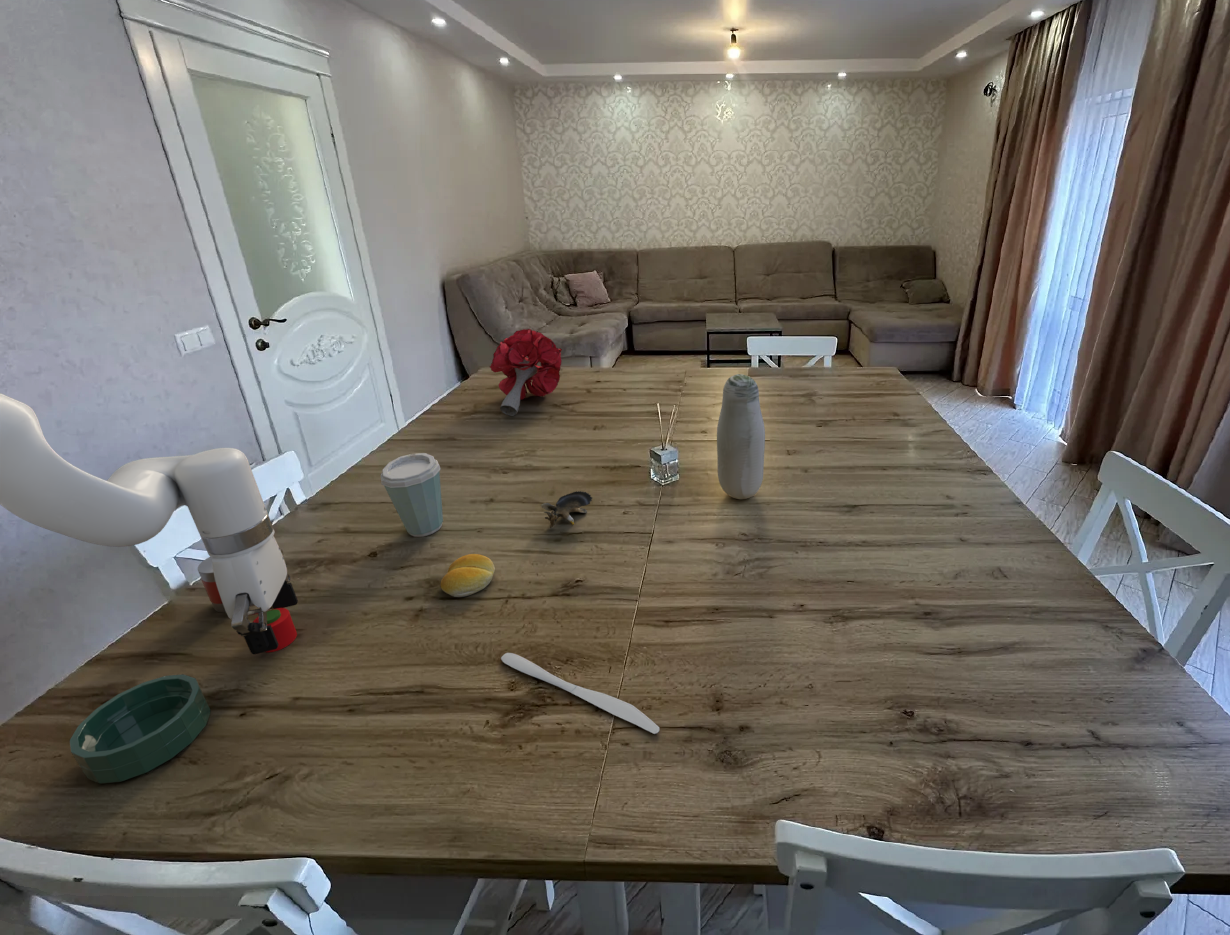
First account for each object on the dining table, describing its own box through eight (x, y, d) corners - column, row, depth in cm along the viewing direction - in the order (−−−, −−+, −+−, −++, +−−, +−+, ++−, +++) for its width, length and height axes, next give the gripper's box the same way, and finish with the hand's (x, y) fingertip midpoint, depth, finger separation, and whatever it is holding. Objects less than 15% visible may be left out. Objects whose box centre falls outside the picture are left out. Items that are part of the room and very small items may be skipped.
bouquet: (556, 431, 174) (578, 362, 192) (526, 382, 156) (554, 310, 174) (493, 432, 177) (521, 364, 196) (457, 384, 159) (491, 314, 178)
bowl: (64, 770, 66) (46, 741, 65) (173, 693, 77) (160, 666, 75) (127, 798, 63) (109, 768, 61) (232, 714, 73) (220, 686, 72)
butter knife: (513, 645, 83) (497, 658, 81) (666, 720, 71) (653, 738, 69) (513, 648, 83) (498, 661, 81) (666, 723, 72) (653, 742, 69)
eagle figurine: (567, 533, 109) (600, 506, 115) (546, 503, 108) (580, 478, 114) (552, 537, 115) (584, 511, 121) (532, 509, 114) (565, 485, 120)
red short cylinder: (253, 648, 84) (242, 622, 82) (282, 627, 88) (273, 602, 86) (275, 655, 83) (265, 629, 81) (304, 633, 87) (295, 608, 85)
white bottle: (771, 499, 122) (775, 379, 112) (730, 510, 118) (730, 387, 108) (749, 479, 131) (750, 366, 120) (710, 489, 126) (708, 373, 116)
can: (204, 608, 92) (186, 569, 89) (244, 583, 98) (229, 545, 95) (231, 616, 90) (215, 576, 87) (271, 590, 96) (257, 552, 93)
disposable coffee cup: (448, 538, 110) (434, 472, 104) (388, 548, 107) (370, 480, 101) (455, 510, 119) (442, 448, 114) (400, 519, 116) (384, 455, 111)
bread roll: (435, 600, 93) (430, 581, 92) (456, 566, 102) (452, 548, 100) (484, 598, 94) (480, 579, 92) (501, 565, 102) (498, 547, 100)
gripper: (230, 508, 84) (266, 597, 91) (176, 577, 69) (223, 678, 76) (288, 498, 87) (319, 585, 93) (248, 563, 72) (288, 662, 78)
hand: (276, 627), depth 85 cm, fingers open, 9 cm apart
